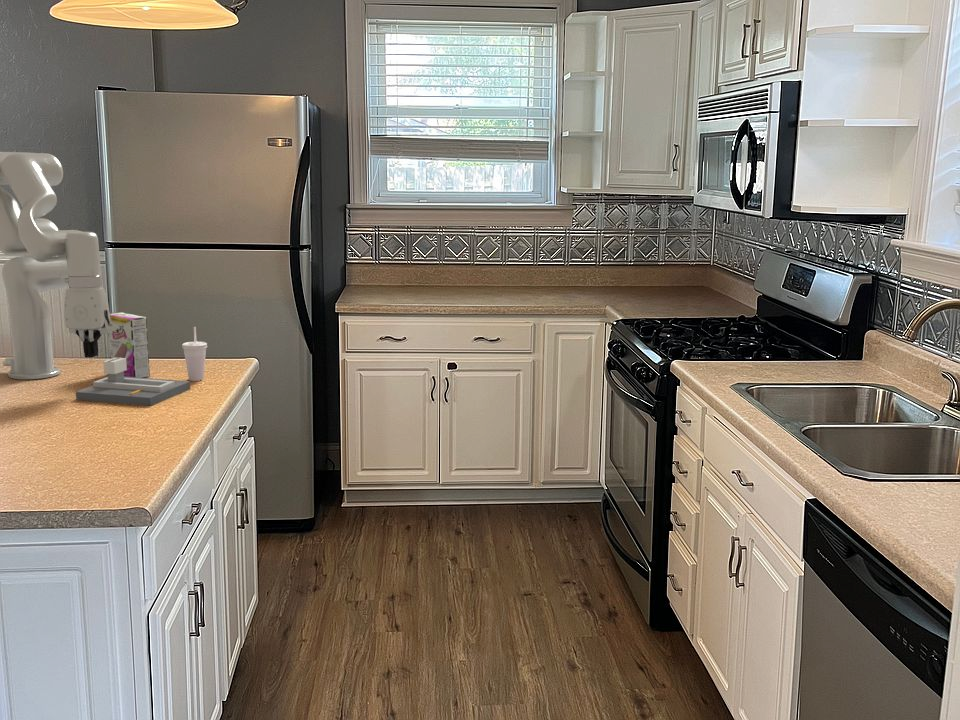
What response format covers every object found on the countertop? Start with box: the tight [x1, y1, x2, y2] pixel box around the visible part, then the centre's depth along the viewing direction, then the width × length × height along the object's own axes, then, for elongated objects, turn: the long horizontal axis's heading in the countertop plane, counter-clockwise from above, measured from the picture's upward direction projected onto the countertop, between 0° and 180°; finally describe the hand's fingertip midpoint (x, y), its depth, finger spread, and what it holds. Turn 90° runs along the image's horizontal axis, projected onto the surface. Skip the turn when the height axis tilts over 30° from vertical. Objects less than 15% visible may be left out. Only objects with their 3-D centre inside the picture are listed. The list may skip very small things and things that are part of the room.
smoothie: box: [181, 326, 208, 382], centre depth 252 cm, size 6×6×14 cm
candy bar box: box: [107, 311, 151, 378], centre depth 255 cm, size 11×5×16 cm, turn 54°
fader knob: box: [103, 357, 127, 383], centre depth 236 cm, size 3×5×6 cm, turn 167°
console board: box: [75, 376, 191, 407], centre depth 236 cm, size 20×18×3 cm
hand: (91, 356), depth 237 cm, fingers closed
